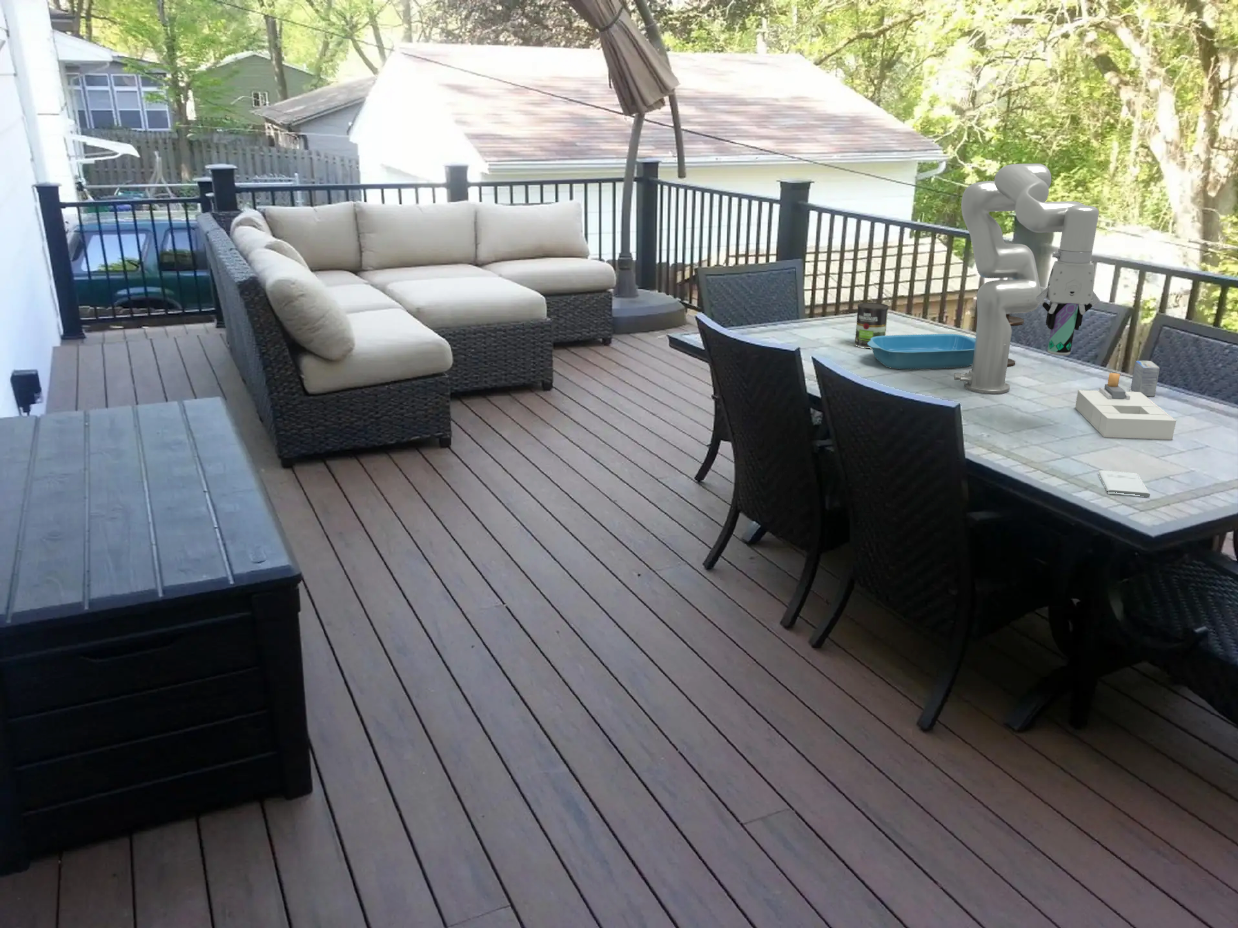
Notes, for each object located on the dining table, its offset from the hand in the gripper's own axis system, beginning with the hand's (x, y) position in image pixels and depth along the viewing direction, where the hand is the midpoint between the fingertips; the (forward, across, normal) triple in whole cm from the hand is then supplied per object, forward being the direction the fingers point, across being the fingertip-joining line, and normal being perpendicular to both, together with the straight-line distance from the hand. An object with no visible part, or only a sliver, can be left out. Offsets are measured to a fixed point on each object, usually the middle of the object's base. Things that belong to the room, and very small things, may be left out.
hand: (1062, 327), depth 246 cm
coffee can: (+27, -39, +79) cm, 92 cm away
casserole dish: (+27, -24, +58) cm, 68 cm away
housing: (+25, +18, 0) cm, 31 cm away
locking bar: (+20, +18, +8) cm, 28 cm away
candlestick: (+26, 0, +59) cm, 65 cm away
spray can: (+7, 0, 0) cm, 7 cm away
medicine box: (+25, +33, +29) cm, 51 cm away
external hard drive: (+25, +4, -46) cm, 53 cm away
